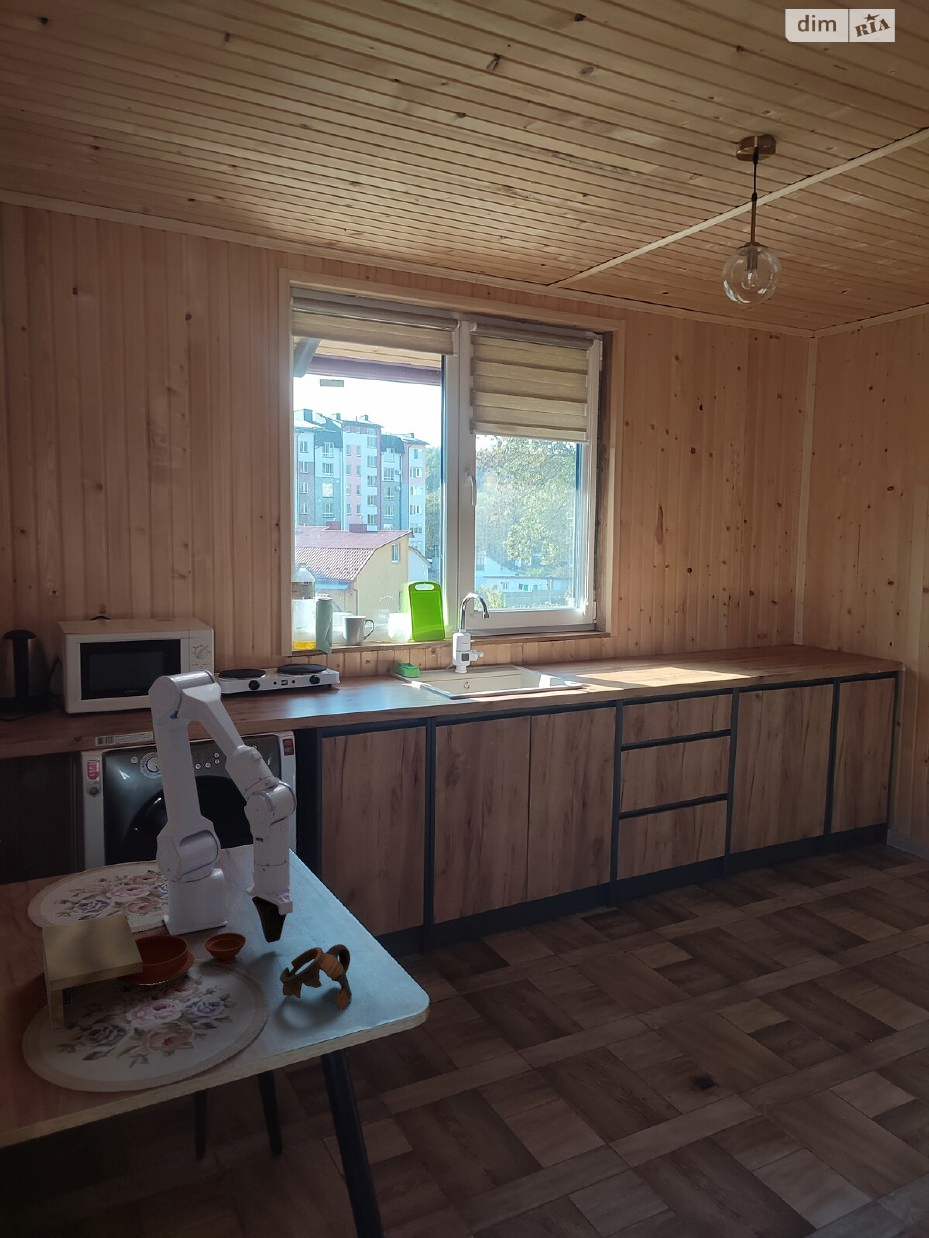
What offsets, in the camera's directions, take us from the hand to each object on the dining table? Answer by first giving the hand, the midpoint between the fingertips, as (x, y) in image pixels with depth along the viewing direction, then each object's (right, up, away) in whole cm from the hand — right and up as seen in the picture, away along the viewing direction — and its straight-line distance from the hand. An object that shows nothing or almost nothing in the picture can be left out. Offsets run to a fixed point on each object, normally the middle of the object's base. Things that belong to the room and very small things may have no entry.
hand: (272, 939), depth 145 cm
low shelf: (-24, -3, -13) cm, 27 cm away
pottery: (-13, -3, -7) cm, 15 cm away
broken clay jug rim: (+10, -4, -14) cm, 18 cm away
